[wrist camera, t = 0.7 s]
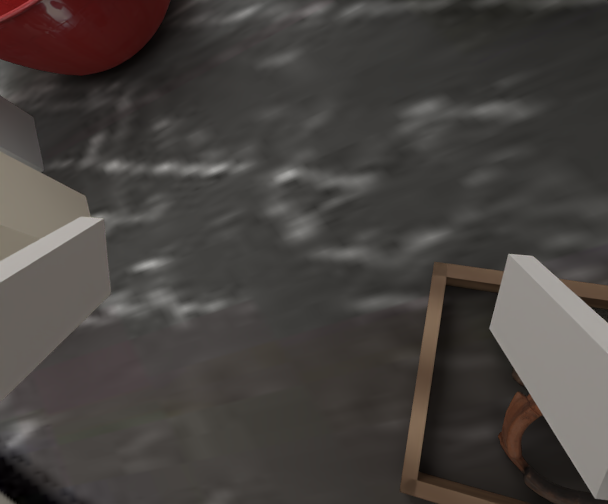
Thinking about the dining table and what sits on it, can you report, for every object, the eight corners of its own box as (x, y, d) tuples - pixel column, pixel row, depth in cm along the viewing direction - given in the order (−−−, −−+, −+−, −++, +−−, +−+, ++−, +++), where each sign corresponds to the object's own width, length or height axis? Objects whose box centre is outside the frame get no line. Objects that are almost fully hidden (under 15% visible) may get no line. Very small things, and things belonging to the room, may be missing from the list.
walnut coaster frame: (434, 270, 36) (434, 261, 33) (707, 310, 30) (735, 303, 28) (402, 482, 33) (399, 491, 30) (703, 570, 27) (733, 592, 24)
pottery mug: (681, 413, 30) (722, 500, 23) (550, 462, 35) (551, 547, 28) (558, 271, 31) (561, 311, 24) (449, 336, 36) (425, 386, 29)
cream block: (47, 217, 49) (-81, 162, 37) (85, 196, 48) (-33, 134, 36) (61, 281, 46) (-74, 246, 34) (101, 260, 45) (-22, 216, 33)
